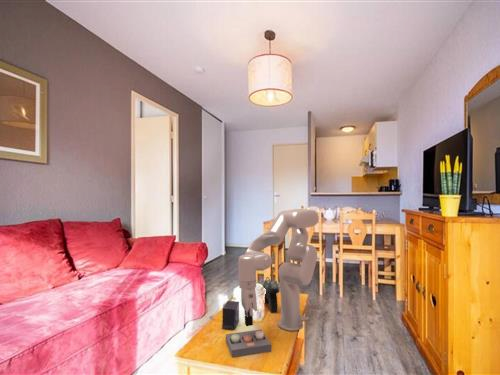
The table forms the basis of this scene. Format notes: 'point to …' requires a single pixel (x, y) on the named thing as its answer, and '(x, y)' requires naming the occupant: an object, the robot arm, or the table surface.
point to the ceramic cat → (271, 294)
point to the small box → (230, 315)
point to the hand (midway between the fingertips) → (248, 324)
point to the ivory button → (259, 335)
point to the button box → (248, 344)
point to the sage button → (235, 338)
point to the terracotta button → (247, 338)
